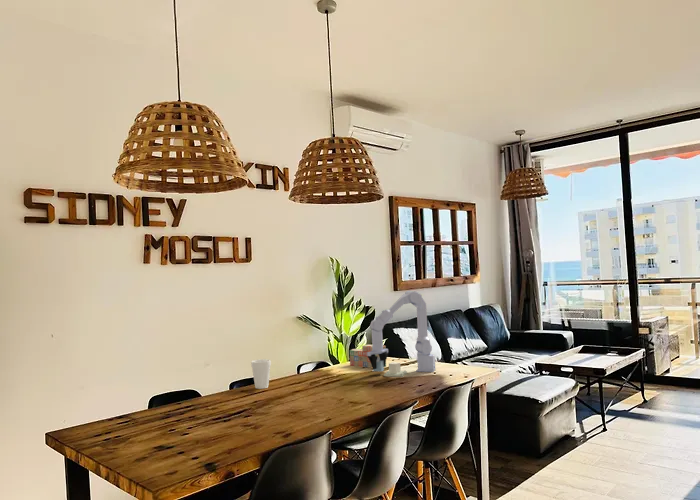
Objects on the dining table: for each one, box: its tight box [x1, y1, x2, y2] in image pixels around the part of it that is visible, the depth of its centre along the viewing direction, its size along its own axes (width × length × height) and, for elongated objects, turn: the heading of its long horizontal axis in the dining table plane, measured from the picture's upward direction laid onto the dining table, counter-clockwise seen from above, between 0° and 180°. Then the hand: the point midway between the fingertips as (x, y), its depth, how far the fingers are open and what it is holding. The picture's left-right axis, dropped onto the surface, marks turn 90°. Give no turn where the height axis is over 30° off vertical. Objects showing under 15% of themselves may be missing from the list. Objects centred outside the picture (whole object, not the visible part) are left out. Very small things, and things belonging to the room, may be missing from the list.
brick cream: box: [388, 361, 402, 374], centre depth 282 cm, size 4×4×5 cm
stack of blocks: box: [349, 344, 387, 368], centre depth 311 cm, size 21×6×12 cm, turn 57°
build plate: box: [383, 370, 408, 378], centre depth 282 cm, size 10×10×1 cm
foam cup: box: [250, 358, 272, 390], centre depth 263 cm, size 10×9×13 cm
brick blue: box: [372, 360, 385, 372], centre depth 284 cm, size 4×4×5 cm
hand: (378, 367), depth 284 cm, fingers closed on brick blue, 6 cm apart
